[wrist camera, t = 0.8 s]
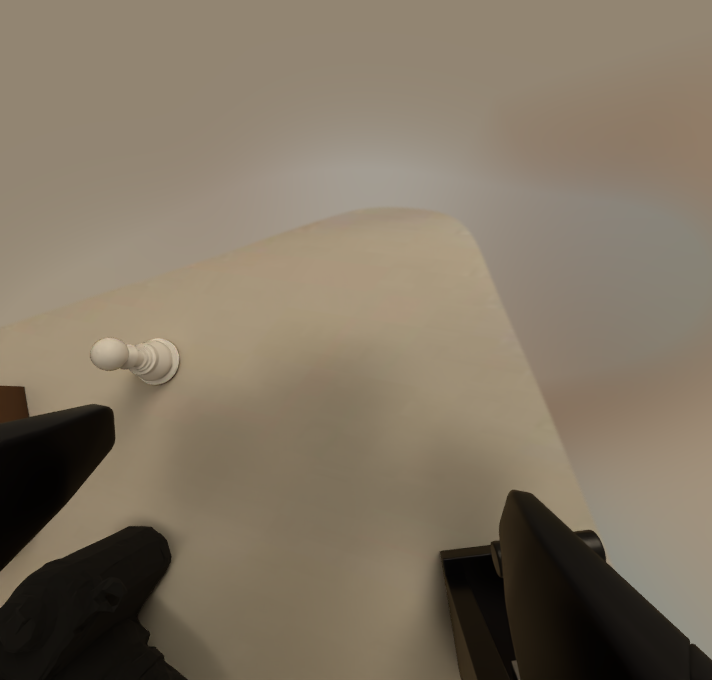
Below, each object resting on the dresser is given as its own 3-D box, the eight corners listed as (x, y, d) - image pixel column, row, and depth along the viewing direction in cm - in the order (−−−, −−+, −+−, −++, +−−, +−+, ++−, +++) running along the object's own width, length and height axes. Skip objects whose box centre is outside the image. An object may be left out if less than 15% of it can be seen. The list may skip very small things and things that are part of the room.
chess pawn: (181, 383, 24) (127, 378, 19) (136, 386, 25) (72, 382, 20) (180, 337, 25) (128, 320, 20) (136, 341, 25) (74, 325, 20)
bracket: (430, 551, 22) (461, 671, 12) (543, 538, 21) (669, 650, 12) (450, 676, 21) (501, 915, 11) (569, 664, 20) (730, 900, 11)
